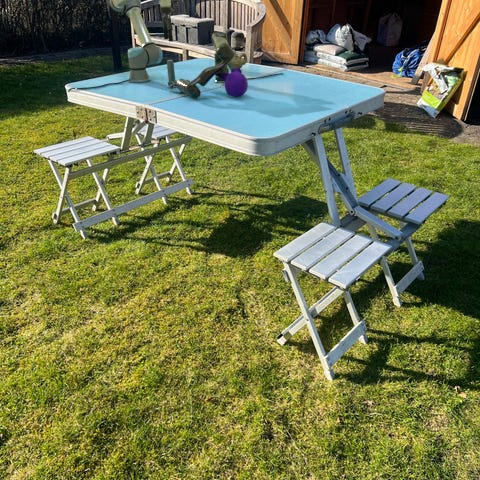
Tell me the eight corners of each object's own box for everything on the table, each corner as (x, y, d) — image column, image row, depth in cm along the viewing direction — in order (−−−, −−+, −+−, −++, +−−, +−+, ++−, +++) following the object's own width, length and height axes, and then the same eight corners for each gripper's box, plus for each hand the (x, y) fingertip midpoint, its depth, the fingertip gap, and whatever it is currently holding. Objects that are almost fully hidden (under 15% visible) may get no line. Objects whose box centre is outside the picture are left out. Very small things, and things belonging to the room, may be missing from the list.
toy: (234, 89, 306) (247, 103, 285) (210, 85, 299) (222, 98, 278) (240, 65, 298) (254, 78, 277) (215, 60, 291) (228, 72, 270)
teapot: (227, 73, 361) (227, 53, 353) (221, 70, 369) (220, 51, 362) (250, 70, 370) (250, 50, 362) (243, 68, 378) (242, 49, 371)
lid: (177, 82, 332) (177, 79, 331) (173, 83, 329) (173, 81, 328) (172, 81, 335) (171, 79, 334) (167, 83, 331) (167, 80, 330)
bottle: (168, 88, 315) (165, 60, 306) (169, 86, 319) (167, 59, 310) (175, 88, 315) (172, 60, 306) (176, 86, 319) (174, 59, 310)
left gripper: (156, 6, 315) (159, 38, 326) (164, 7, 295) (167, 42, 306) (166, 5, 318) (169, 38, 328) (175, 7, 298) (178, 41, 308)
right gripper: (174, 92, 294) (166, 88, 307) (194, 90, 299) (185, 85, 312) (173, 81, 290) (165, 76, 303) (193, 78, 295) (184, 74, 308)
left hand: (168, 40), depth 317 cm, fingers open, 13 cm apart
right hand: (175, 81), depth 307 cm, fingers open, 8 cm apart
